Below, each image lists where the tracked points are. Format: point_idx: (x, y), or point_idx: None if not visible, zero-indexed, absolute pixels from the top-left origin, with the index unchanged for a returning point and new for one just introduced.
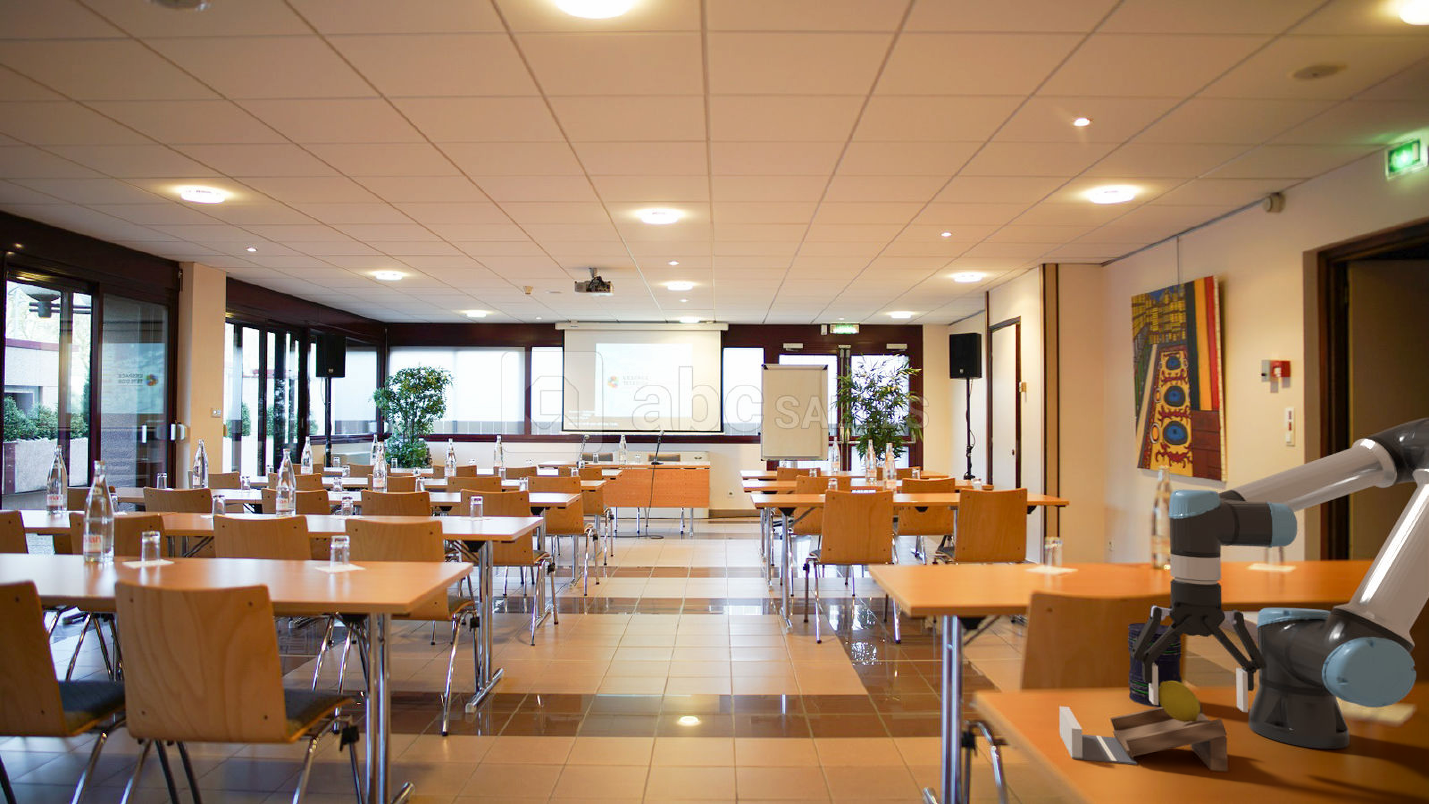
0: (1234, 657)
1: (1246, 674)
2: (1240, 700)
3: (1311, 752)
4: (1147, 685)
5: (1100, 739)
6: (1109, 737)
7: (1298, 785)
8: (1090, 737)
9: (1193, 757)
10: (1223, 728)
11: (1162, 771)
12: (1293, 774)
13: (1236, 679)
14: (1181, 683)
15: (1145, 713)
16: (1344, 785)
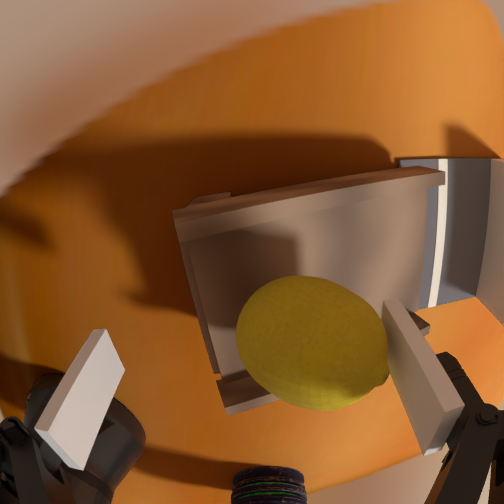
0: (64, 499)
1: (40, 423)
2: (102, 366)
3: (61, 360)
4: (285, 494)
5: (435, 287)
6: None
7: (70, 179)
8: (448, 290)
9: None
10: (176, 214)
11: (349, 136)
12: (74, 242)
13: (95, 436)
14: (305, 396)
15: None
16: (14, 222)
